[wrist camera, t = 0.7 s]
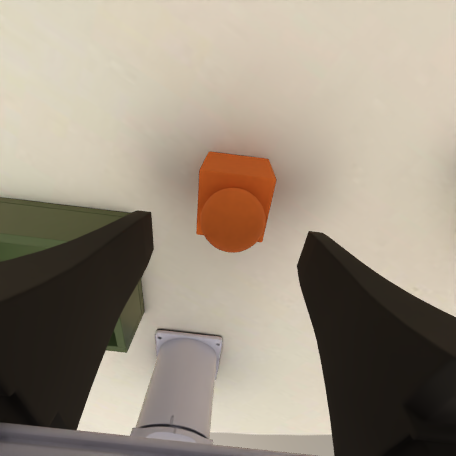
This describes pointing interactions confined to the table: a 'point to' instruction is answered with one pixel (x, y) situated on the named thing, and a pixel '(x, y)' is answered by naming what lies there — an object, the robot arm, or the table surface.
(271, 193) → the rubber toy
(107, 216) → the bin
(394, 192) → the table surface
